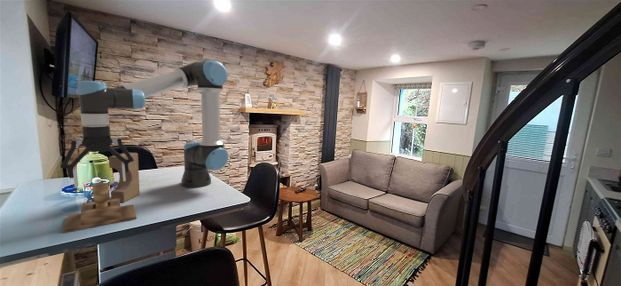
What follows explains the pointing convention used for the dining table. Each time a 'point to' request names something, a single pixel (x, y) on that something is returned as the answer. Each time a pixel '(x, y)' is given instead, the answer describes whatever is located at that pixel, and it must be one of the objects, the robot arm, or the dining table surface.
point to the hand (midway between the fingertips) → (101, 183)
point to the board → (77, 219)
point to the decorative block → (131, 185)
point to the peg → (101, 194)
